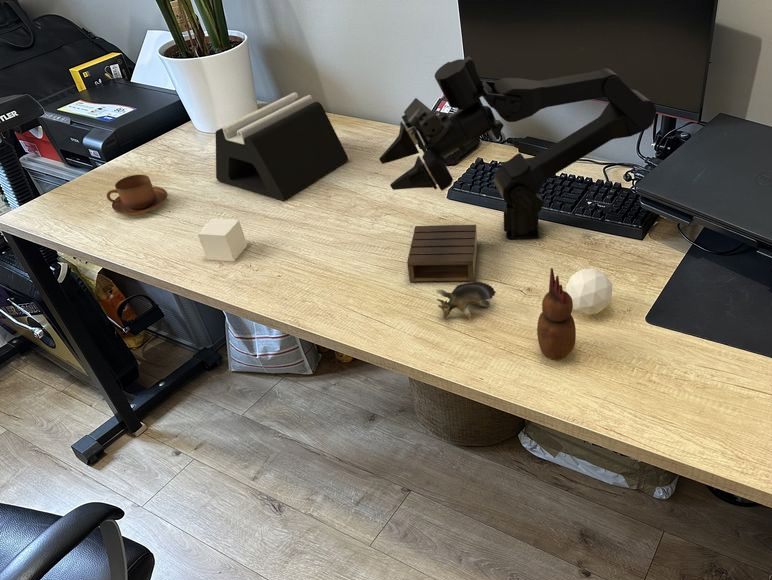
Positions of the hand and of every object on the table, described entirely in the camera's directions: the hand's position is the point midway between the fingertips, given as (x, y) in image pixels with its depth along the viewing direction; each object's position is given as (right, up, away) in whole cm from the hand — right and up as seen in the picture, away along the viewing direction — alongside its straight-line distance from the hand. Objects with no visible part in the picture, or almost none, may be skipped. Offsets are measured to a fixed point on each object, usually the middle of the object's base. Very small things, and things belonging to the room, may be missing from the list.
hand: (385, 174), depth 117 cm
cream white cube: (-34, -12, +16) cm, 40 cm away
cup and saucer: (-60, +1, +33) cm, 68 cm away
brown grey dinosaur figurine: (+14, -25, -4) cm, 29 cm away
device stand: (-30, +12, +43) cm, 54 cm away
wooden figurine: (+29, -32, -13) cm, 45 cm away
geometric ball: (+35, -25, -5) cm, 43 cm away
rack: (+10, -15, +8) cm, 20 cm away
